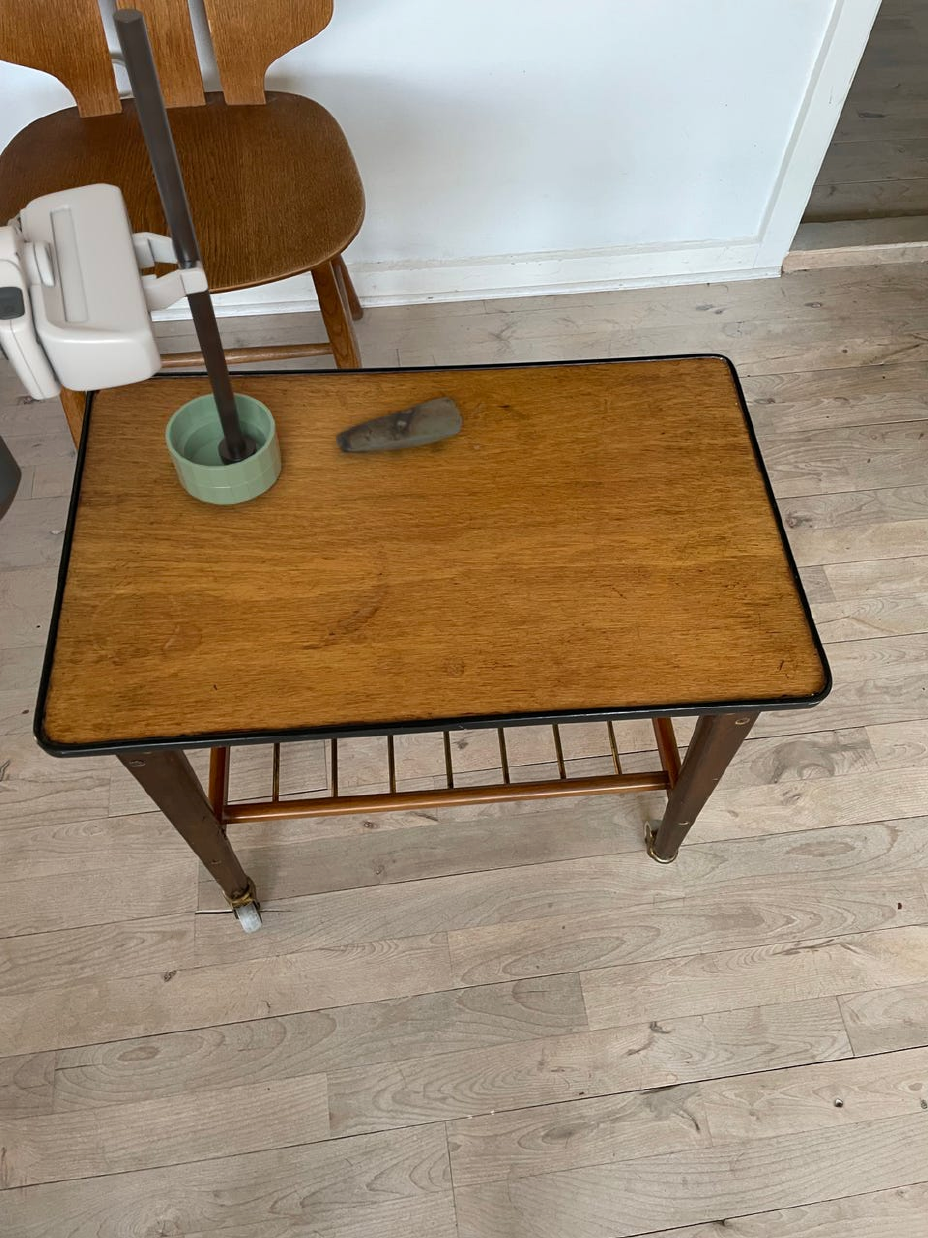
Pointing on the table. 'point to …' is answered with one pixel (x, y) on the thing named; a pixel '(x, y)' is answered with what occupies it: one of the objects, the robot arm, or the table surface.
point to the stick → (179, 222)
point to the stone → (404, 428)
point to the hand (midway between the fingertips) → (201, 262)
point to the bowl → (198, 457)
